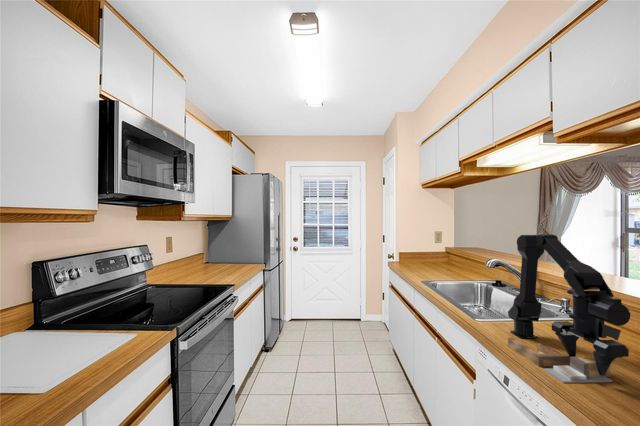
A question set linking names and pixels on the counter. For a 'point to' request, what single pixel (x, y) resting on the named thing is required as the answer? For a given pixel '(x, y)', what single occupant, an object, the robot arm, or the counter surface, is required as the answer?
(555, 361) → the corner fence
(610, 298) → the robot arm
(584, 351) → the counter surface
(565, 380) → the mat
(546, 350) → the shard
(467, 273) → the counter surface
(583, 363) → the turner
